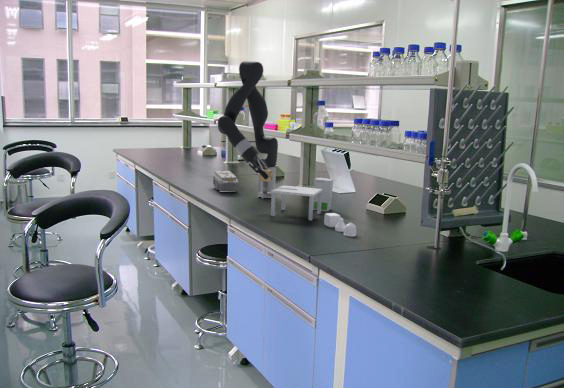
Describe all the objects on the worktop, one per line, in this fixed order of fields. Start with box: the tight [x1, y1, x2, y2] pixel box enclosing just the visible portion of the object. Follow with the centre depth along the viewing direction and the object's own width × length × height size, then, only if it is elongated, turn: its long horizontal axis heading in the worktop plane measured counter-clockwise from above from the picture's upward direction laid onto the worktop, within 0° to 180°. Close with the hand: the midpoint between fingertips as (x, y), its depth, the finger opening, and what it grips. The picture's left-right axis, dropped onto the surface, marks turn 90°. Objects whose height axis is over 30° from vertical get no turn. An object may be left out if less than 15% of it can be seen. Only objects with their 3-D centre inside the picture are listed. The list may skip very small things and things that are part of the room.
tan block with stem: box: [258, 169, 273, 196], centre depth 242 cm, size 6×6×12 cm
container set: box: [323, 212, 357, 237], centre depth 213 cm, size 20×5×6 cm, turn 24°
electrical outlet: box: [212, 170, 239, 192], centre depth 296 cm, size 12×28×10 cm, turn 20°
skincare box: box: [313, 177, 334, 213], centre depth 251 cm, size 8×7×16 cm
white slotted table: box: [270, 185, 322, 221], centre depth 238 cm, size 16×20×12 cm
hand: (269, 177), depth 241 cm, fingers closed on tan block with stem, 5 cm apart
